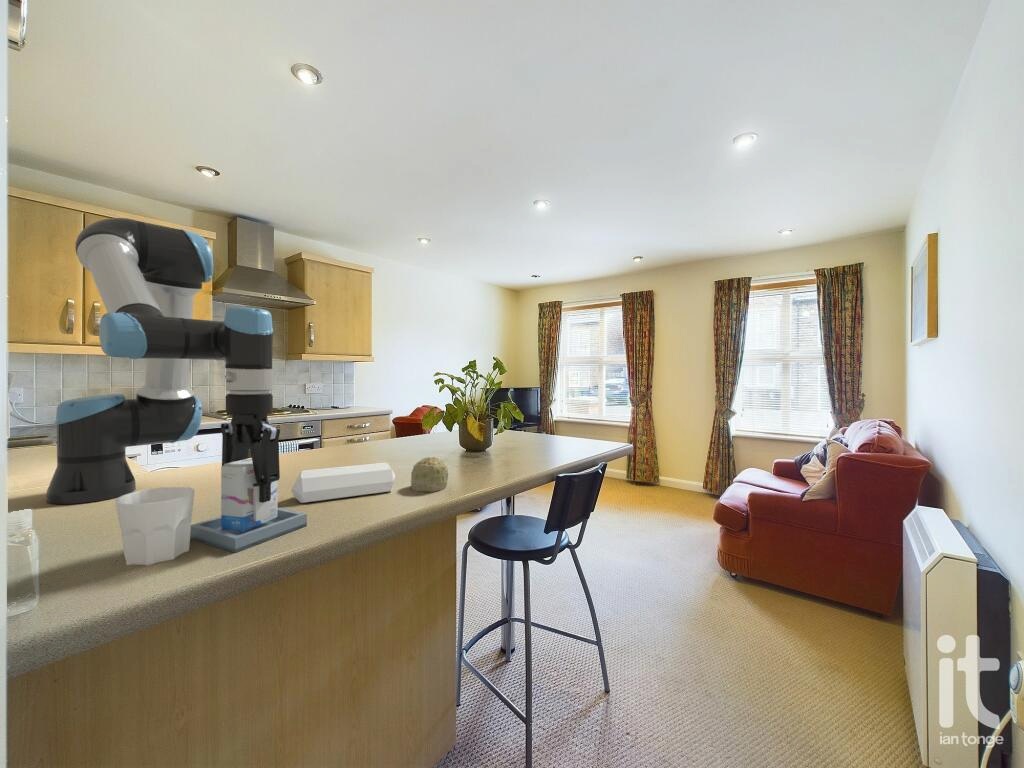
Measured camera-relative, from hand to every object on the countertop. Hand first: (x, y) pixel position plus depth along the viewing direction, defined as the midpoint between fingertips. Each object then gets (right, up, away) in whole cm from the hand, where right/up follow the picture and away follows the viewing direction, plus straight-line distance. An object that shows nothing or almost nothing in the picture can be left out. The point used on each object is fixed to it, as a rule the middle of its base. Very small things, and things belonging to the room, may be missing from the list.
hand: (250, 515), depth 82 cm
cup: (-9, -4, -10) cm, 14 cm away
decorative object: (+27, -3, +32) cm, 43 cm away
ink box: (0, -2, 0) cm, 2 cm away
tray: (0, -3, 0) cm, 3 cm away
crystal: (+9, -3, +25) cm, 26 cm away
